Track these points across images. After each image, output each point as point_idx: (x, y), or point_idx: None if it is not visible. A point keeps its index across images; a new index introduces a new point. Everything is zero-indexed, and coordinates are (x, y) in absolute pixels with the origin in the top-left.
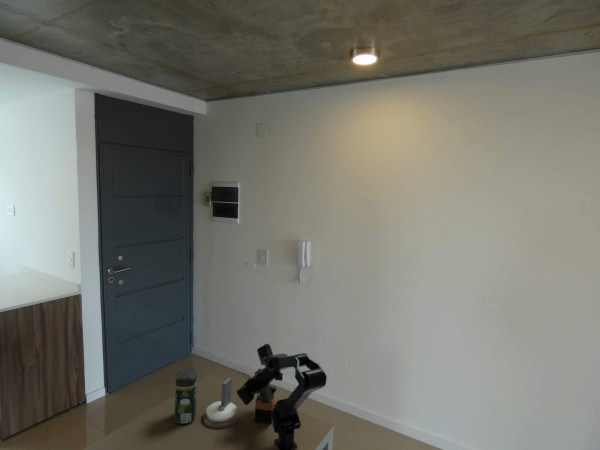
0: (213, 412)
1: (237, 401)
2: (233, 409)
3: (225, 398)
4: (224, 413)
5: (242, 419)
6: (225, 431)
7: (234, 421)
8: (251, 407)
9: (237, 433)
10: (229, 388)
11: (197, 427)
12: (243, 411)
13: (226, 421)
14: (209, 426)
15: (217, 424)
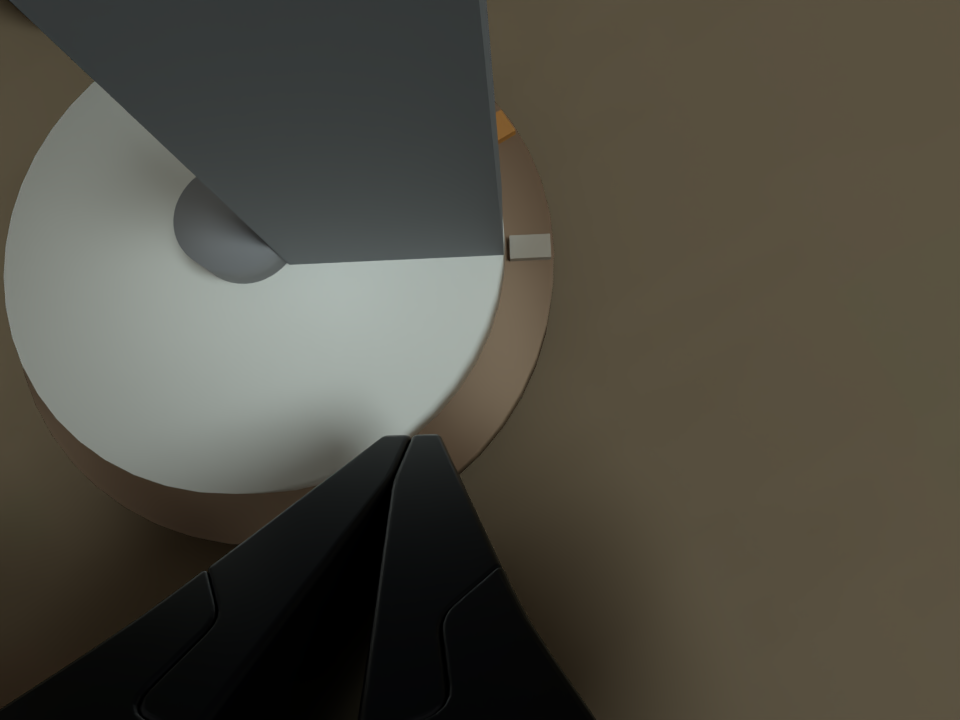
0: (123, 170)
1: (761, 282)
2: (319, 421)
3: (224, 183)
4: (155, 341)
5: None
6: (42, 499)
7: (205, 535)
8: (726, 576)
9: None
10: (366, 68)
11: (18, 138)
12: (564, 504)
13: None
14: None
15: None
